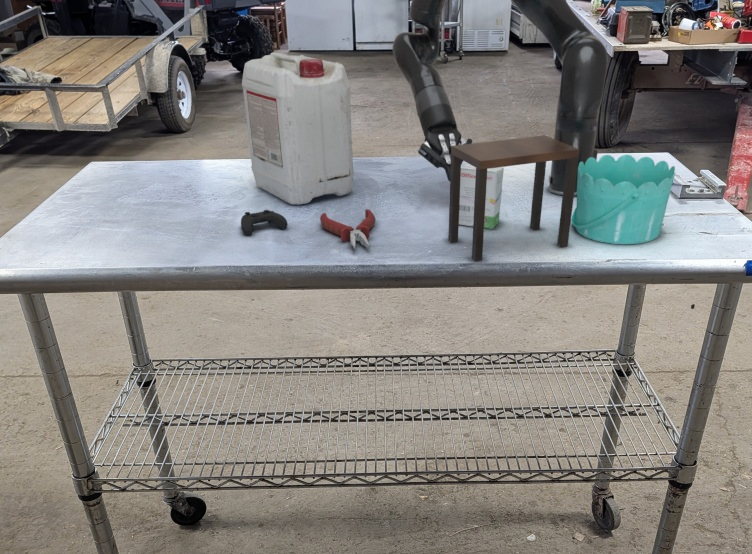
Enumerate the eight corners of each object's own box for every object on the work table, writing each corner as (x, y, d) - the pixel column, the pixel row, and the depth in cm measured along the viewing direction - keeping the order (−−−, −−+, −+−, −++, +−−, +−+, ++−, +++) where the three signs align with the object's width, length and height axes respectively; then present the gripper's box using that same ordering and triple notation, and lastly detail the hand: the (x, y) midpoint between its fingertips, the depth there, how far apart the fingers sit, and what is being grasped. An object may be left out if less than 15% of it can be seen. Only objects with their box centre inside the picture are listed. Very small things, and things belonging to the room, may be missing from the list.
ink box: (454, 224, 151) (456, 168, 145) (462, 217, 155) (464, 161, 149) (493, 229, 148) (496, 172, 142) (500, 222, 152) (504, 165, 146)
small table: (535, 227, 149) (544, 135, 139) (567, 246, 139) (579, 149, 129) (448, 240, 143) (451, 145, 133) (475, 261, 134) (480, 161, 124)
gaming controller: (245, 233, 146) (236, 207, 147) (242, 245, 151) (233, 220, 152) (289, 225, 150) (280, 199, 151) (285, 237, 155) (276, 212, 156)
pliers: (332, 256, 137) (332, 243, 135) (319, 223, 153) (318, 211, 152) (391, 251, 139) (391, 238, 137) (371, 218, 155) (371, 207, 154)
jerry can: (362, 195, 170) (357, 57, 154) (292, 210, 161) (279, 66, 145) (312, 173, 187) (303, 47, 171) (247, 186, 178) (231, 54, 162)
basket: (661, 251, 136) (674, 183, 129) (564, 241, 142) (571, 176, 135) (665, 219, 151) (676, 157, 144) (576, 211, 157) (584, 151, 150)
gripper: (412, 104, 155) (433, 176, 152) (467, 99, 159) (489, 169, 156) (403, 125, 162) (423, 194, 159) (456, 120, 166) (477, 187, 163)
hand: (456, 181), depth 157 cm, fingers closed
